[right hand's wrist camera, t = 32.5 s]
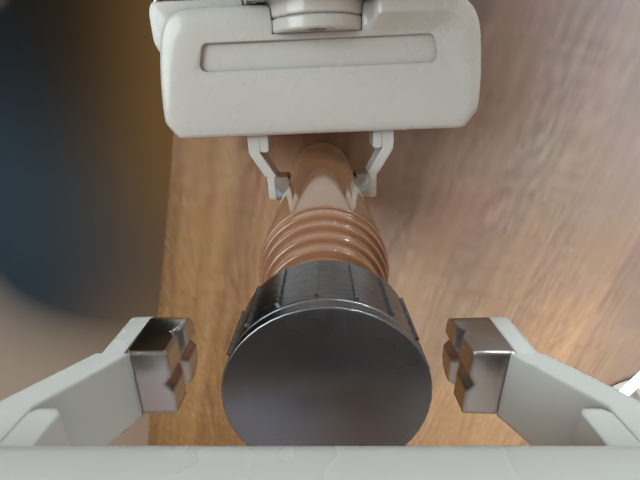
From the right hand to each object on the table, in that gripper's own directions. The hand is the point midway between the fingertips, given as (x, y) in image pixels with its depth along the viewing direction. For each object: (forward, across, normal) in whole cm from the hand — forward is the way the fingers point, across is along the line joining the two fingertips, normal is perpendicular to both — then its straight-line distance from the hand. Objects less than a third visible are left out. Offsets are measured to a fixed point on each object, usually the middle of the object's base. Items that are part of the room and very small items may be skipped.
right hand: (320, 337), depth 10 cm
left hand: (+18, 0, -1) cm, 18 cm away
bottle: (+24, 0, 0) cm, 24 cm away
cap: (-2, 0, 0) cm, 2 cm away
